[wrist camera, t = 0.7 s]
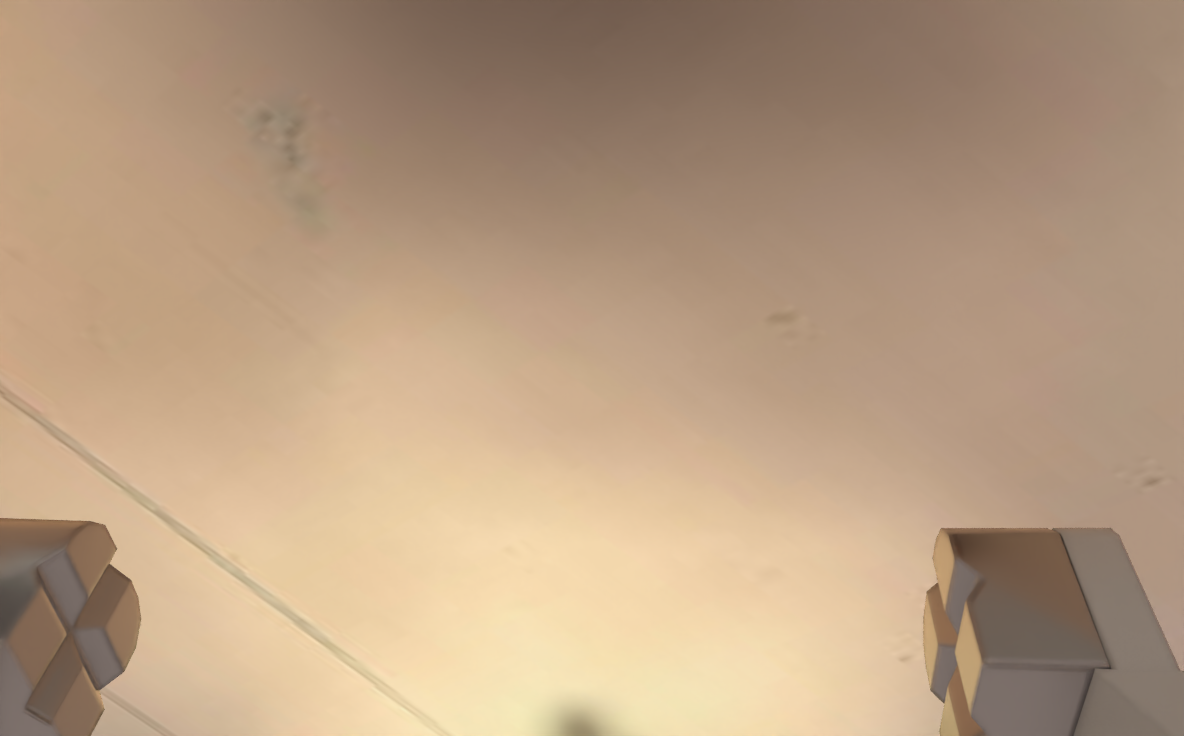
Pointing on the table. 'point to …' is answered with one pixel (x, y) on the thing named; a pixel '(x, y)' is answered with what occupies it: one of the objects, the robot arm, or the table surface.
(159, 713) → the table surface
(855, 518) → the table surface
